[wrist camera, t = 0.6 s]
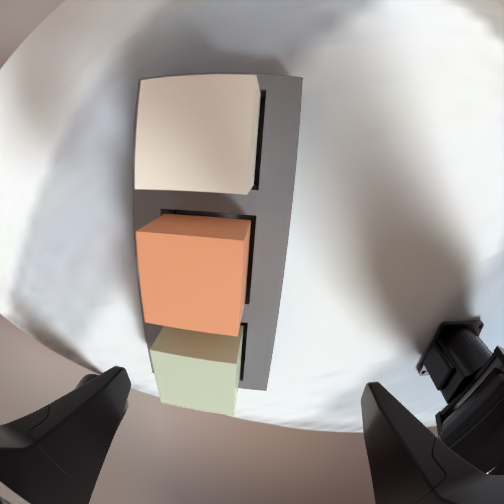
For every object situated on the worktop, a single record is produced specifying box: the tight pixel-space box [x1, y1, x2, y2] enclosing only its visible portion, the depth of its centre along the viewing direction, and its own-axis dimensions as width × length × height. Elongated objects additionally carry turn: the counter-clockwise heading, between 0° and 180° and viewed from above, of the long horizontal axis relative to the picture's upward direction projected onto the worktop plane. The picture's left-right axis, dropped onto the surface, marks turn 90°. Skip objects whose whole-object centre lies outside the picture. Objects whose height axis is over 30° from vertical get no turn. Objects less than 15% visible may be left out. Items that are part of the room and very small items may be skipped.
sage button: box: [150, 325, 243, 415], centre depth 18 cm, size 5×5×4 cm
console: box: [133, 73, 303, 391], centre depth 19 cm, size 10×23×2 cm, turn 176°
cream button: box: [135, 74, 261, 195], centre depth 13 cm, size 5×5×4 cm
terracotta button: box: [136, 214, 251, 336], centre depth 16 cm, size 5×5×4 cm
